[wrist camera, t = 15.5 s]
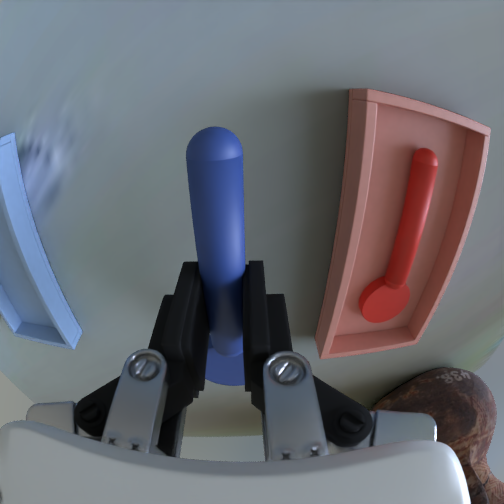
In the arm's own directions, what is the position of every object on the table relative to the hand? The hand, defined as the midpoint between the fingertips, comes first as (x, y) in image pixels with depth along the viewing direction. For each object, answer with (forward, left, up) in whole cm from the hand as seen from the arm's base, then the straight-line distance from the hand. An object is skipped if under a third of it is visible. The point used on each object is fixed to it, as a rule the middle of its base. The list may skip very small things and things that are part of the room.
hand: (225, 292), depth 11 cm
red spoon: (+1, +11, -5) cm, 12 cm away
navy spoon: (0, 0, 0) cm, 0 cm away
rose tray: (+1, +11, -6) cm, 12 cm away
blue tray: (+1, -19, -6) cm, 20 cm away
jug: (+27, +25, -6) cm, 37 cm away
